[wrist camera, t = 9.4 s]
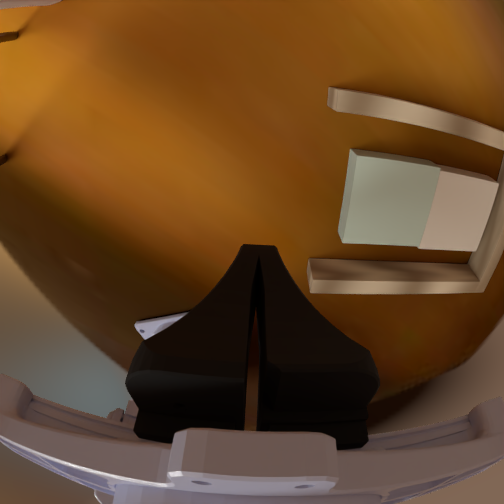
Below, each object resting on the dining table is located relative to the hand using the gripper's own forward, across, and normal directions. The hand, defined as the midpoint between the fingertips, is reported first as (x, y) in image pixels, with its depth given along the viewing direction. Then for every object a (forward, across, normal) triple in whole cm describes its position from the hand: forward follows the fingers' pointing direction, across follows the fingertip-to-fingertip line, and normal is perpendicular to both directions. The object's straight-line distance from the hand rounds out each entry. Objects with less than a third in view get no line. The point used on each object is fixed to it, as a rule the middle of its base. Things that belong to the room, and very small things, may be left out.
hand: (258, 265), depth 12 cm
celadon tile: (+9, -8, 0) cm, 12 cm away
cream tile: (+9, -15, 0) cm, 17 cm away
